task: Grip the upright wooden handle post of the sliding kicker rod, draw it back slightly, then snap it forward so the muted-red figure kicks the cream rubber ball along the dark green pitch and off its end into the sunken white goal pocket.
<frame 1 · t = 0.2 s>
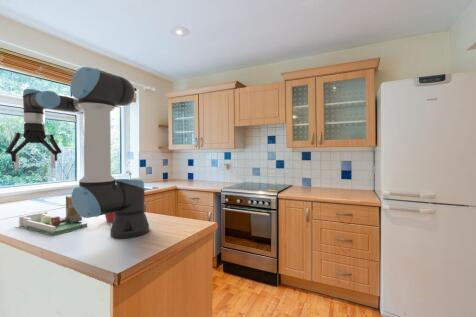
hand: (35, 168, 111), 27 cm above the countertop, fingers open, 13 cm apart
rail: (69, 223, 115), on the countertop
flower pot: (115, 220, 121), on the countertop
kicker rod: (65, 209, 111), point 8 cm above the countertop, slide at 2.0 cm
ball: (46, 219, 110), point 3 cm above the countertop, touching pitch
pitch: (49, 227, 110), on the countertop
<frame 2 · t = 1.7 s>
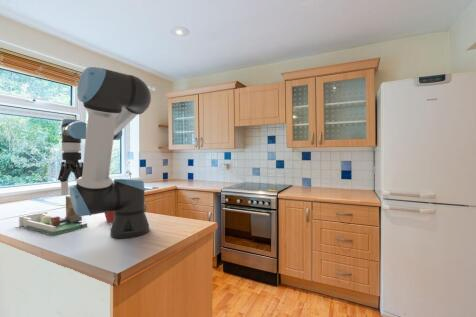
hand: (72, 196, 114), 14 cm above the countertop, fingers open, 13 cm apart
nothing on the countertop moved.
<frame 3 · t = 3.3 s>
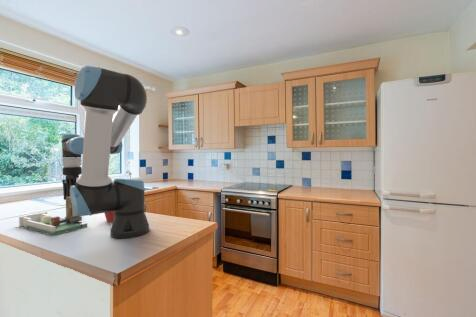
hand: (73, 215, 114), 5 cm above the countertop, fingers closed on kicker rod, 4 cm apart
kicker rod: (65, 209, 111), point 8 cm above the countertop, slide at 2.0 cm, touching gripper
everything else where it was.
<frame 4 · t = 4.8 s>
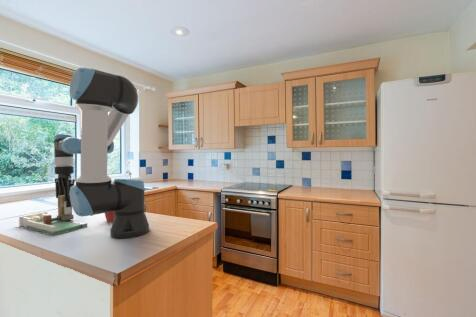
hand: (65, 213, 117), 5 cm above the countertop, fingers closed on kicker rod, 4 cm apart
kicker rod: (57, 208, 114), point 8 cm above the countertop, slide at 9.0 cm, touching gripper
ball: (35, 220, 115), point 2 cm above the countertop, tilted 50°
everything else where it was.
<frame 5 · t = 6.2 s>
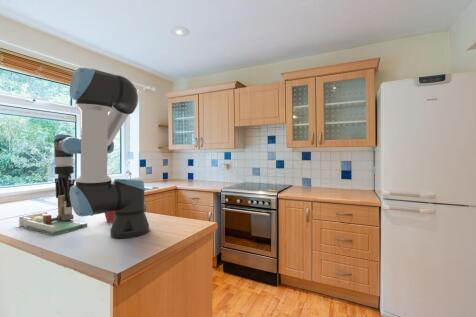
hand: (65, 213, 117), 5 cm above the countertop, fingers closed on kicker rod, 4 cm apart
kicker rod: (57, 208, 114), point 8 cm above the countertop, slide at 9.0 cm, touching gripper
ball: (37, 220, 114), point 2 cm above the countertop, tilted 117°
everything else where it was.
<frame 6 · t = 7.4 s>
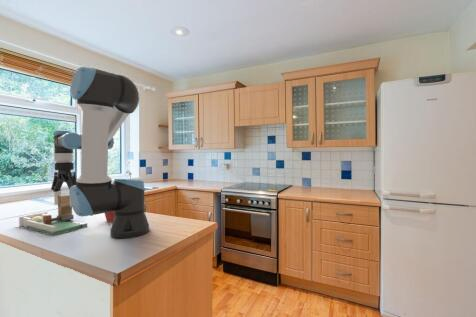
hand: (65, 205, 116), 9 cm above the countertop, fingers open, 13 cm apart
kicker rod: (57, 208, 114), point 8 cm above the countertop, slide at 9.0 cm
ball: (37, 220, 114), point 2 cm above the countertop, tilted 104°
everything else where it was.
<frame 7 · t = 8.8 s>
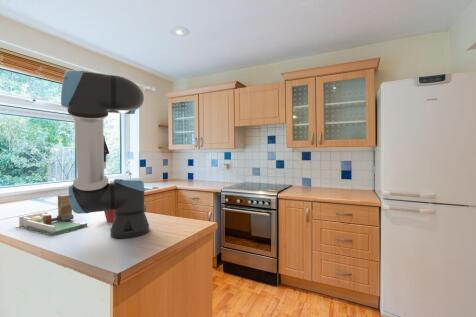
hand: (94, 168, 120), 27 cm above the countertop, fingers open, 13 cm apart
ball: (36, 220, 115), point 2 cm above the countertop, tilted 88°
everything else where it was.
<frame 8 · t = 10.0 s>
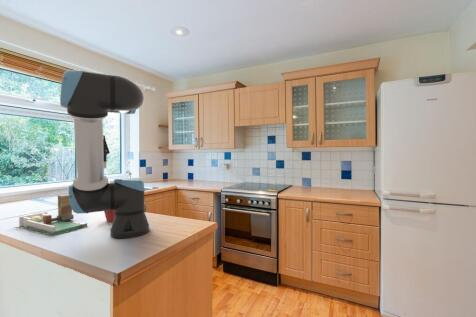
hand: (94, 168, 120), 27 cm above the countertop, fingers open, 13 cm apart
ball: (36, 220, 115), point 2 cm above the countertop, tilted 75°
everything else where it was.
at the end: ball inside the target area (0.2 cm from its centre), point 2.0 cm above the countertop; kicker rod slide at 9.0 cm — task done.
